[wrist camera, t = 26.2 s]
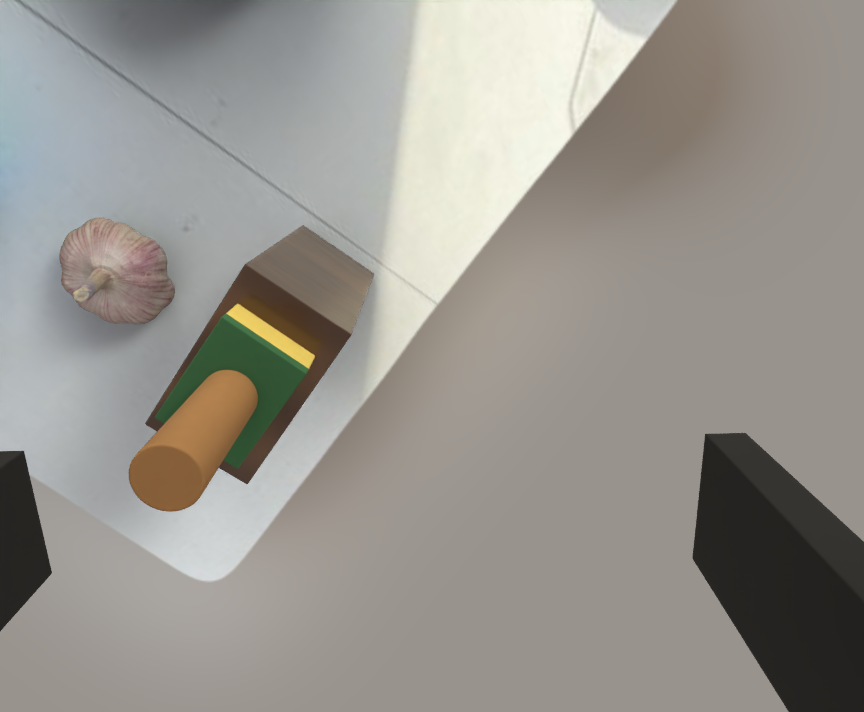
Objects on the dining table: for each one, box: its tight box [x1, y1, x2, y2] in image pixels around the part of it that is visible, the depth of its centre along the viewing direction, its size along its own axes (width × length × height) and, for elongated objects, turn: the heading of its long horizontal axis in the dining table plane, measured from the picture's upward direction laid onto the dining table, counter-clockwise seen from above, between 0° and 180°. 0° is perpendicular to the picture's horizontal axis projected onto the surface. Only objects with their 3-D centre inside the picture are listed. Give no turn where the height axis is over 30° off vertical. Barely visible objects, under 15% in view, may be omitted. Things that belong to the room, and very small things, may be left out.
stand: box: [145, 225, 374, 484], centre depth 41 cm, size 10×6×16 cm, turn 145°
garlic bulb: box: [60, 218, 175, 324], centre depth 44 cm, size 8×7×8 cm
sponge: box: [129, 304, 315, 511], centre depth 28 cm, size 6×4×11 cm
